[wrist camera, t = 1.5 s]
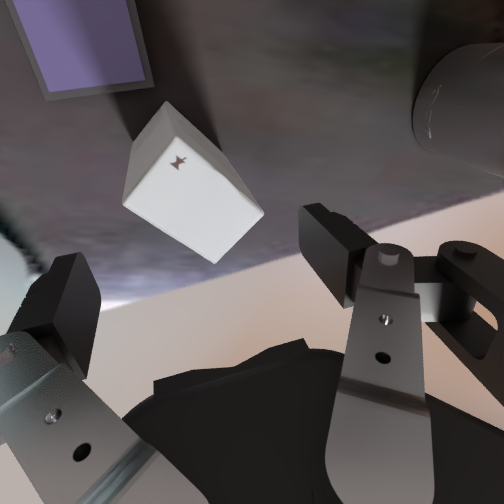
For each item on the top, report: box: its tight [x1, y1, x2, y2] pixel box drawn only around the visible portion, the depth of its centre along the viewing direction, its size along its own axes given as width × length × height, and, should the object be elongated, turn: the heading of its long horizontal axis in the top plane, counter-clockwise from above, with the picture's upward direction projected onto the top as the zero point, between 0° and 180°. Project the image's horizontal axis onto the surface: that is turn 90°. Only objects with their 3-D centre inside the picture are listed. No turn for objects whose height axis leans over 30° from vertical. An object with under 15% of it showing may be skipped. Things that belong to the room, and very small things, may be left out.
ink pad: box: [5, 0, 155, 101], centre depth 20 cm, size 7×7×1 cm
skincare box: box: [122, 101, 264, 264], centre depth 20 cm, size 6×4×12 cm
